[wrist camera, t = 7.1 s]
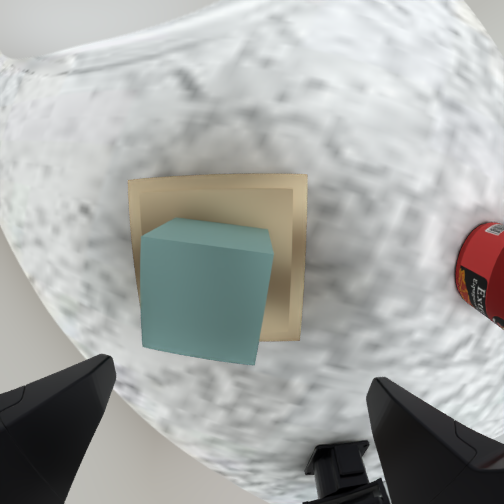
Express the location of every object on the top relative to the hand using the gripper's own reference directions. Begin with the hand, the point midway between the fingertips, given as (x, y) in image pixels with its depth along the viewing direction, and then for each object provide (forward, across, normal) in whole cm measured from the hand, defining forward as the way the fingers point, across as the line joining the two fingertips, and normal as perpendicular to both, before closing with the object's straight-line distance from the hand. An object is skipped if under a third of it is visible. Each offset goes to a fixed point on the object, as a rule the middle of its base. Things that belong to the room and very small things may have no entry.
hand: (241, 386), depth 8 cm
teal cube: (+8, +2, -2) cm, 8 cm away
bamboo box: (+12, +2, -2) cm, 12 cm away
